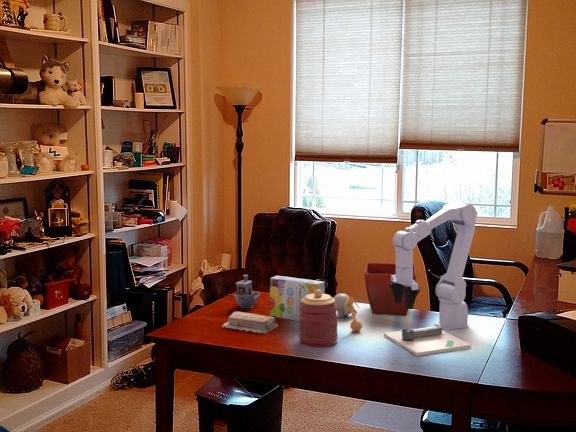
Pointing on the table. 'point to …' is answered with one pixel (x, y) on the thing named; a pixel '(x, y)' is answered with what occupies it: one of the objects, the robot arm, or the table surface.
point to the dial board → (428, 343)
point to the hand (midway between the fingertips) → (403, 305)
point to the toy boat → (245, 293)
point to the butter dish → (251, 322)
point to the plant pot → (383, 289)
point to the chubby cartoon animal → (341, 304)
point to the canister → (318, 320)
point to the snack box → (290, 295)
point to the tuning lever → (420, 333)
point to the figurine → (353, 315)
